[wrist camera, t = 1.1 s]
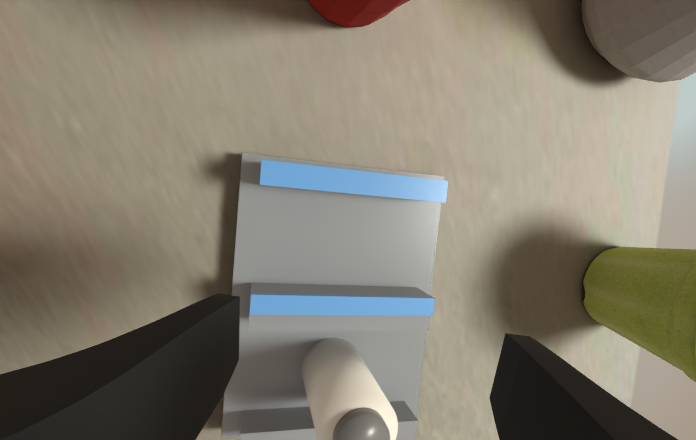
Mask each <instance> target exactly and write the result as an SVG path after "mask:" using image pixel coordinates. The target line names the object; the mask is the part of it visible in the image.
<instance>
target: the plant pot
mask: <svg viewBox="0 0 696 440" xmlns="http://www.w3.org/2000/svg"><path fill="white" fill-rule="evenodd" d="M583 285H584V288H585V299H584V301H583V303H584V306H585V309H586V311H587V312H588V314H589V315H590V316H591V318H593V319H594V320H595V321H597V322H598V323H600V324H602V325H604V326H605V327H607V328H609V329H611V330H612V331H614V332H616V333H618V334H619V335H621V336H623V337H625V338H626V339H628V340H630V341H632V342H634V343H635V344H637V345H639V346H641V347H642V348H644V349H646V350H648V351H649V352H651V353H653V354H655V355H656V356H658V357H660V358H662V359H663V360H665V361H667V362H668V363H670V364H672V365H673V366H675V367H677V368H679V369H681V370H682V371H684V373H685V374H686V375H687V376H688V377H690V378H691V379H692V380H694V381H695V382H696V250H690V249H689V250H687V249H661V248H660V249H659V248H636V247H617V248H613V249H609V250H605V251H603V252H602V253H601V254H599V255H598V256H597V257H596V258H595V259H594V260H593V262H592V263H591V264H590V266H589V268H588V270H587V272H586V274H585V277H584V280H583Z"/></svg>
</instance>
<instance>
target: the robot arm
mask: <svg viewBox="0 0 696 440" xmlns="http://www.w3.org/2000/svg"><path fill="white" fill-rule="evenodd" d="M239 326H240V297H239V296H232V295H225V294H217V295H214V296H211V297H208V298H206V299H204V300H201V301H199V302H197V303H194V304H192V305H190V306H188V307H186V308H183V309H181V310H179V311H177V312H175V313H172V314H170V315H168V316H166V317H164V318H161V319H159V320H157V321H155V322H152V323H150V324H148V325H145V326H143V327H140V328H138V329H136V330H133V331H131V332H128V333H126V334H123V335H121V336H119V337H116V338H114V339H111V340H109V341H106V342H103V343H101V344H98V345H95V346H93V347H90V348H87V349H84V350H81V351H78V352H75V353H72V354H69V355H66V356H63V357H60V358H57V359H54V360H51V361H47V362H44V363H41V364H37V365H33V366H30V367H26V368H22V369H19V370H15V371H11V372H8V373H4V374H0V440H195V439H196V438H197V436H198V435H199V433H200V431H201V430H202V428H203V427H204V425H205V423H206V422H207V420H208V419H209V417H210V415H211V414H212V412H213V410H214V409H215V407H216V405H217V404H218V402H219V401H220V399H221V397H222V395H223V394H224V392H225V390H226V388H227V385H228V383H229V381H230V379H231V377H232V375H233V372H234V370H235V368H236V366H237V363H238V361H239ZM490 402H491V406H492V411H493V415H494V420H495V424H496V428H497V432H498V436H499V439H500V440H678V439H676V438H675V437H673V436H671V435H670V434H668V433H666V432H665V431H664V430H662V429H661V428H659V427H657V426H656V425H655V424H653V423H652V422H650V421H648V420H647V419H646V418H644V417H643V416H641V415H639V414H638V413H637V412H635V411H634V410H632V409H631V408H629V407H628V406H626V405H625V404H623V403H622V402H621V401H619V400H618V399H616V398H615V397H614V396H612V395H611V394H609V393H608V392H607V391H605V390H604V389H602V388H601V387H600V386H598V385H597V384H595V383H594V382H593V381H591V380H590V379H589V378H587V377H586V376H585V375H583V374H582V373H580V372H579V371H578V370H576V369H575V368H574V367H572V366H571V365H570V364H568V363H567V362H566V361H564V360H563V359H562V358H560V357H559V356H557V355H556V354H555V353H553V352H552V351H551V350H549V349H548V348H546V347H545V346H543V345H542V344H541V343H539V342H537V341H536V340H534V339H533V338H531V337H528V336H521V335H514V334H505V338H504V342H503V346H502V350H501V354H500V358H499V362H498V366H497V370H496V374H495V378H494V382H493V387H492V391H491V395H490Z"/></svg>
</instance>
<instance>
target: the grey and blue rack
mask: <svg viewBox="0 0 696 440" xmlns="http://www.w3.org/2000/svg"><path fill="white" fill-rule="evenodd" d="M447 187H448V181H444V177H443V176H435V175H426V174H418V173H409V172H401V171H392V170H384V169H375V168H367V167H358V166H350V165H341V164H333V163H324V162H316V161H307V160H299V159H290V158H282V157H273V156H265V155H256V154H247V153H242V161H241V175H240V188H239V202H238V215H237V229H236V243H235V256H234V270H233V283H232V296H239V297H240V326H239V361H238V363H237V366H236V368H235V370H234V372H233V375H232V377H231V379H230V381H229V383H228V385H227V388H226V390H225V392H224V405H223V418H222V432H221V439H224V438H237V437H240V439H239V440H317V436H316V431H315V427H314V423H313V419H312V415H311V411H310V407H309V403H308V399H307V395H306V391H305V387H304V382H303V378H302V373H301V368H302V363H303V359H304V357H305V355H306V354H307V352H308V351H309V350H310V349H311V348H312V347H313V346H314V345H315V344H316V343H318V342H320V341H322V340H325V339H328V338H341V339H344V340H346V341H348V342H350V343H351V344H352V345H353V346H354V347H355V348H356V349H357V351H358V353H359V354H360V356H361V358H362V359H363V361H364V362H365V364H366V366H367V367H368V369H369V370H370V372H371V374H372V375H373V377H374V379H375V380H376V382H377V383H378V385H379V387H380V388H381V390H382V392H383V393H384V395H385V396H386V398H387V400H388V401H389V403H390V404H391V406H392V408H393V409H394V411H395V414H396V416H397V421H398V432H397V437H396V440H416V435H417V426H418V420H417V411H418V402H419V393H420V384H421V375H422V367H423V358H424V349H425V340H426V331H428V329H429V321H430V316H433V309H434V301H435V298H433V297H432V296H431V287H432V279H433V270H434V261H435V252H436V243H437V235H438V226H439V217H440V208H441V202H443V203H446V196H447Z"/></svg>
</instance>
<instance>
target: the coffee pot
mask: <svg viewBox="0 0 696 440" xmlns="http://www.w3.org/2000/svg"><path fill="white" fill-rule="evenodd" d="M582 18H583V23H584V27H585V31H586V34H587V36H588V38H589V40H590V42H591V44H592V46H593V48H594V49H595V50H596V51H597V52H598V53H599V54H600V55H601V56H602V57H603V58H604V59H606V60H607V61H608V62H609V63H610V64H612V65H613V66H614V67H616V68H617V69H619V70H620V71H622V72H624V73H625V74H627V75H629V76H630V77H634V78H639V79H643V80H648V81H654V82H667V81H674V80H681V79H683V78H685V77H687V76H689V75H691V74H693V73H695V72H696V0H582Z"/></svg>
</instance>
